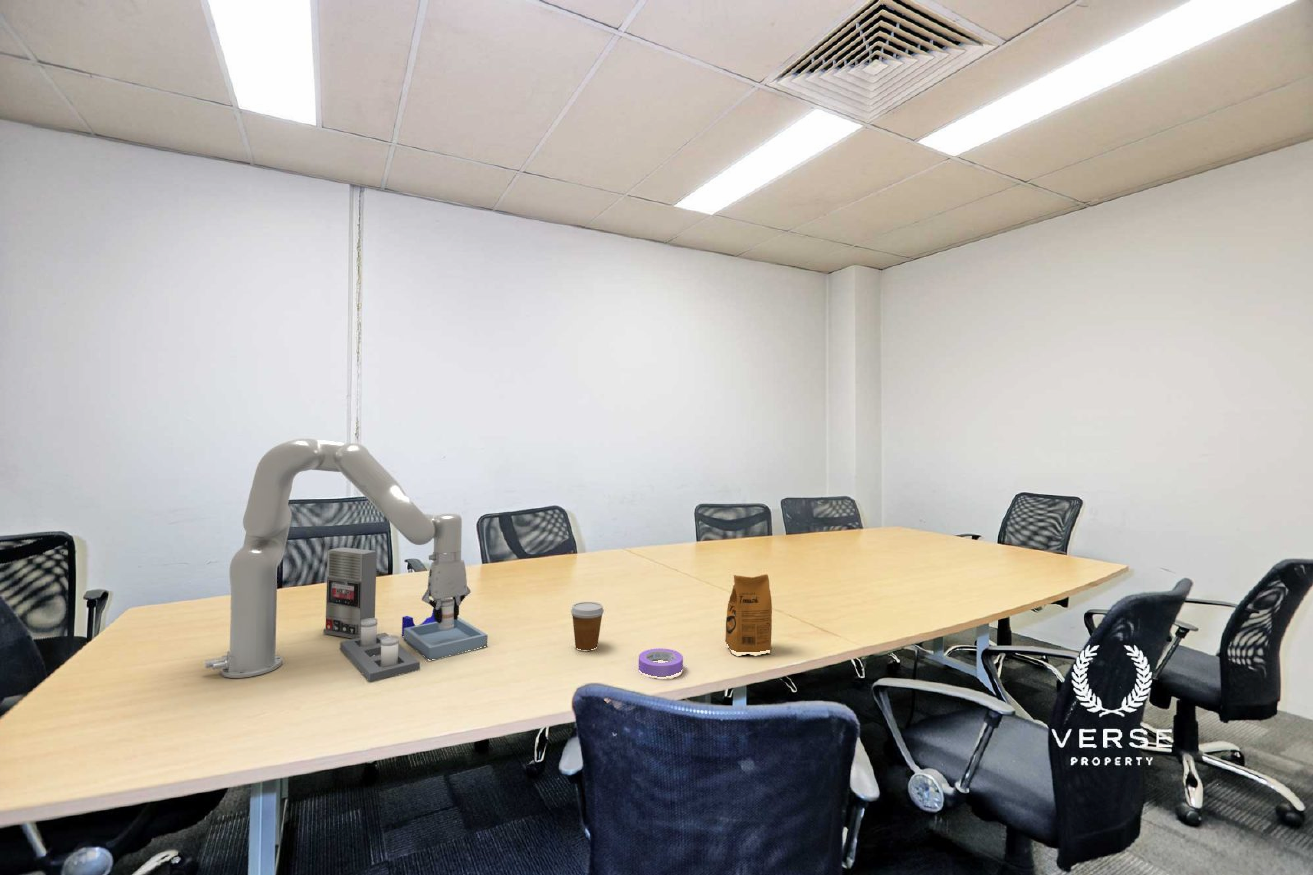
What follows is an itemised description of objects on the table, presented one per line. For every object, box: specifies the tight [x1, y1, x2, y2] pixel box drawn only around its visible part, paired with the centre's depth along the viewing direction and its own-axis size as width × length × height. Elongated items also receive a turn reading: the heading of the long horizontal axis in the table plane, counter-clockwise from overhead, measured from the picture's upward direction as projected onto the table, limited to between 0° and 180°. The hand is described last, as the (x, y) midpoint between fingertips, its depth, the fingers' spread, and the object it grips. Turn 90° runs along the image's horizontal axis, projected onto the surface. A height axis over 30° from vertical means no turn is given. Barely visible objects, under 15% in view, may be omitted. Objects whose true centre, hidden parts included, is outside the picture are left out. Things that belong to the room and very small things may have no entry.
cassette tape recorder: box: [322, 546, 378, 639], centre depth 168 cm, size 14×6×25 cm, turn 71°
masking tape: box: [638, 647, 684, 677], centre depth 147 cm, size 12×12×4 cm
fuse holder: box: [339, 632, 421, 683], centre depth 150 cm, size 12×28×2 cm, turn 43°
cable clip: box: [401, 608, 436, 637], centre depth 172 cm, size 12×4×6 cm, turn 148°
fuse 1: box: [360, 617, 379, 647], centre depth 157 cm, size 4×4×8 cm
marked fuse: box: [439, 598, 454, 631], centre depth 162 cm, size 4×4×8 cm
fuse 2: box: [380, 635, 400, 668], centre depth 143 cm, size 4×4×8 cm
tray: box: [403, 616, 489, 661], centre depth 162 cm, size 16×20×4 cm
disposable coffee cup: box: [570, 601, 605, 650], centre depth 162 cm, size 10×10×12 cm
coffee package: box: [724, 573, 773, 652], centre depth 163 cm, size 10×12×22 cm
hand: (446, 619), depth 162 cm, fingers closed on marked fuse, 4 cm apart
